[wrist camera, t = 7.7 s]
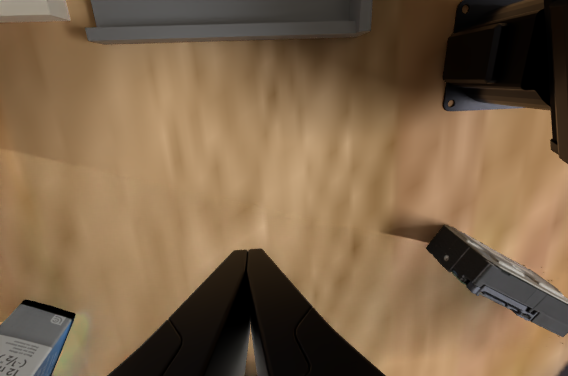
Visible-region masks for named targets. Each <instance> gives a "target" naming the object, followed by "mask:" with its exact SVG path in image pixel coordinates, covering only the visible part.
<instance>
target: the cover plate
mask: <svg viewBox="0 0 568 376" xmlns="http://www.w3.org/2000/svg"><path fill="white" fill-rule="evenodd" d="M47 21H71V19H70V15H69V11H68V7H67V3H66V0H0V23H7V22H47Z"/></svg>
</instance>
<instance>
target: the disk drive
mask: <svg viewBox="0 0 568 376" xmlns="http://www.w3.org/2000/svg"><path fill="white" fill-rule="evenodd" d="M426 249H427V250H428V251H429V253H431V254H433V256H434V258H436V259H437V261H438V262H439V263H440V264H441V265H442V266H443V267H444V268H445V269H446V270H447V271H448V272H452V274H453V275H454V276H455V277H456V278H457V279H458V280H459V281H460V282H461V283H463V284H465V285H466V287H467V288H468V289H469V290H470V291H471V292H472V293H474V294H476V295H477V296H479V294H480V295H482V296H484V297H486V298H488V299H490V300H492V301H494V302H496V303H498V304H500V305H502V306H504V307H506V308H508V309H510V310H512V311H513V312H514V313H515V314H516V315H517V316H520V317H521V318H524V319H525V320H528V321H531V322H533V323H535V324H537V325H539V326H541V327H543V328H545V329H547V330H549V331H551V332H553V333H555V334H557V335H559V336H561V337H564V336H565V335H566V334H567V333H568V299H567V298H566V297H564V296H563V294H562V293H561V292H560V291H559V290H558V289H557V288H556V287H554V286H553V285H552V284H550V283H549V282H547V281H546V280H544V279H543V278H542V277H540V276H539V275H537V274H536V273H535V272H533V271H532V270H530V269H527V268H526V267H524V266H522V265H520V264H518V263H517V262H515V261H513V260H511V259H509V258H508V257H506V256H504V255H502V254H501V253H499V252H497V251H495V250H493V249H492V248H490V247H488V246H486V245H485V244H483V243H481V242H479V241H477V240H475V239H474V238H472V237H470V236H468V235H467V234H465V233H462V232H460V231H458V230H457V229H455V228H454V227H450V226H447V225H444V226H443V227H442V228H441V230H439V232H438V233H437V235H436V236H435V237H434V238H433V239H432V241H431V242H430V243H429V245H428V246H427V247H426Z"/></svg>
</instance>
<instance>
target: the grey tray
mask: <svg viewBox="0 0 568 376" xmlns="http://www.w3.org/2000/svg"><path fill="white" fill-rule="evenodd" d="M372 1H373V0H91V4H92V8H93V13H94V17H95V22H96V26H97V27H94V28H85V30H86V34H87V38H88V41H91V42H96V43H100V44H139V43H173V42H207V41H241V40H275V39H310V38H344V37H358V36H360V35H362V34H365V33H367V32H370V31H371V18H372Z"/></svg>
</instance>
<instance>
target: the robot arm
mask: <svg viewBox="0 0 568 376" xmlns="http://www.w3.org/2000/svg"><path fill="white" fill-rule="evenodd" d="M465 4H466V5H468V7H469V10H468V12H467V13H466V14H464V13H463V12H462V7H463V5H465ZM443 80H444V82H446V87H445V94H444V101H443V107H444V109H445V110H446V111H468V110H489V109H510V108H533V109H542V110H551V120H552V135H553V139H551V140H550V143H551V150H552V151H554V152H555V153H557V154H558V155H559V158H560V159H562V160H563V161H564V162H566V163H567V164H568V0H463V1H461V2H460V3H459V5H458V7H457V10H456V17H455V24H454V31H453V34H452V35H451V36H450V37H449V38H448V44H447V51H446V58H445V65H444V72H443ZM450 100H453V101H454V105H453V106H452V107H448V102H449V101H450ZM250 322H251V332H252V340H253V347H254V355H255V362H256V369H257V376H386V375H384V374H383V373H382V372H381V371H380V370H379V369H378V368H376V367H375V366H374V365H373V364H372V363H371V362H370V361H368V360H367V359H366V358H365V357H364V356H363V355H362V354H360V353H359V352H358V351H357V350H356V349H355V348H354V347H352V346H351V345H350V344H349V343H348V342H347V341H346V340H345V339H344V338H343V337H341V336H340V335H339V334H338V333H337V332H336V331H335V330H334V329H333V328H332V327H331V326H330V325H329V324H328V323H327V322H326V321H325V320H324V319H323V317H322V316H321V315H320V314H319V313H318V312H317V311H316V310H315V308H313V306H312V305H311V304H310V303H309V302H308V301H307V299H306V298H305V297H304V296H303V295H302V294H301V293H300V291H299V290H298V289H297V288H296V287H295V286H294V285H293V283H292V282H291V281H290V280H289V279H288V278H287V277H286V275H285V274H284V273H283V272H282V271H281V270H280V269H279V267H278V266H277V265H276V264H275V263H274V262H273V261H272V259H271V258H270V257H269V256H268V255H267V254H266V253H265V251H264V250H263V249H250V250H249V251H247V250H235V251H233V252H232V253H231V254H230V255H229V256H228V257H227V258H226V259H225V260H224V261H223V262H222V263H221V264H220V265H219V266H218V267H217V269H216V270H215V271H214V272H213V273H212V274H211V275H210V276H209V277H208V278H207V279H206V280H205V281H204V282H203V283H202V284H201V285H200V286H199V287H198V288H197V289H196V290H195V291H194V292H193V293H192V294H191V295H190V296H189V298H188V299H187V300H186V301H185V302H184V303H183V304H182V305H181V306H180V307H179V308H178V309H177V310H176V311H175V312H174V313H173V314H172V315H171V316H170V317H169V319H168V320H166V321H165V322H164V323H163V324H162V325H161V326H160V327H159V328H158V329H157V330H156V331H155V332H154V333H153V334H152V335H151V336H150V337H149V338H148V339H147V340H146V341H145V342H144V343H143V344H142V345H141V346H140V347H139V348H138V349H137V350H136V351H135V352H133V353H132V354H131V355H130V356H129V357H128V358H127V359H126V360H125V361H123V362H122V363H121V364H120V365H119V366H118V367H117V368H115V369H114V370H113V371H112V372H111V373H110V374H109V375H107V376H245V368H246V360H247V351H248V343H249V335H250Z"/></svg>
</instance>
